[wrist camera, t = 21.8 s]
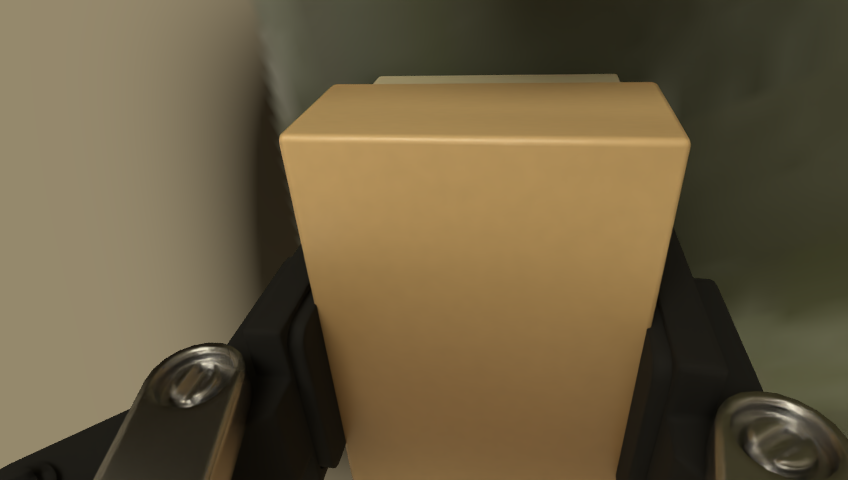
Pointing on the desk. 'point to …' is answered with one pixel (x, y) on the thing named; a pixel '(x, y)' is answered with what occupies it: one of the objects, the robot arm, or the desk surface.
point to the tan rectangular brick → (485, 265)
